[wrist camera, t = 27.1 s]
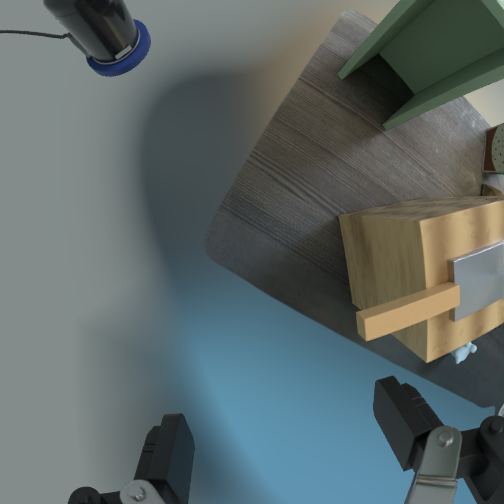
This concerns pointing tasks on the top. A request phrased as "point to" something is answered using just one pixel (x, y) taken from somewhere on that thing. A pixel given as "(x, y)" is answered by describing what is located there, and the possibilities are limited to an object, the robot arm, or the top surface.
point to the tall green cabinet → (437, 50)
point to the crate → (421, 261)
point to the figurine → (463, 351)
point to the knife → (443, 294)
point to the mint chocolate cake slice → (494, 150)
